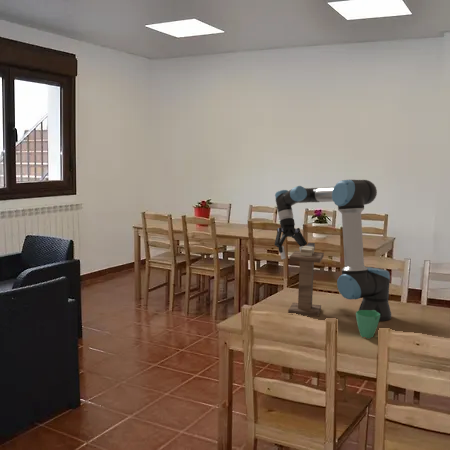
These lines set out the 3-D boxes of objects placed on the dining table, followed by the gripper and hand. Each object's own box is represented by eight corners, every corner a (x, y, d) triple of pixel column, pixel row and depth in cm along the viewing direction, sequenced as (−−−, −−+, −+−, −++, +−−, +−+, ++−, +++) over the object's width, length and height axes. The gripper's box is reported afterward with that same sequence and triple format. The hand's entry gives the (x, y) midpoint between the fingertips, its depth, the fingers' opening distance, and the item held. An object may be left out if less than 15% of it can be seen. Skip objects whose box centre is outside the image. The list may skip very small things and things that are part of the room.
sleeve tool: (311, 256, 258) (311, 249, 258) (300, 255, 259) (300, 249, 259) (316, 249, 279) (316, 243, 279) (306, 248, 280) (307, 242, 280)
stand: (317, 317, 256) (320, 258, 253) (287, 314, 260) (289, 256, 257) (321, 308, 272) (323, 252, 268) (293, 306, 275) (295, 250, 272)
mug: (375, 341, 224) (376, 318, 223) (351, 337, 229) (352, 314, 228) (384, 332, 236) (386, 309, 235) (362, 328, 241) (363, 306, 240)
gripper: (299, 222, 299) (307, 260, 294) (263, 220, 285) (270, 260, 280) (308, 217, 293) (316, 256, 288) (272, 216, 279) (279, 257, 274)
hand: (293, 258), depth 284 cm, fingers open, 13 cm apart
